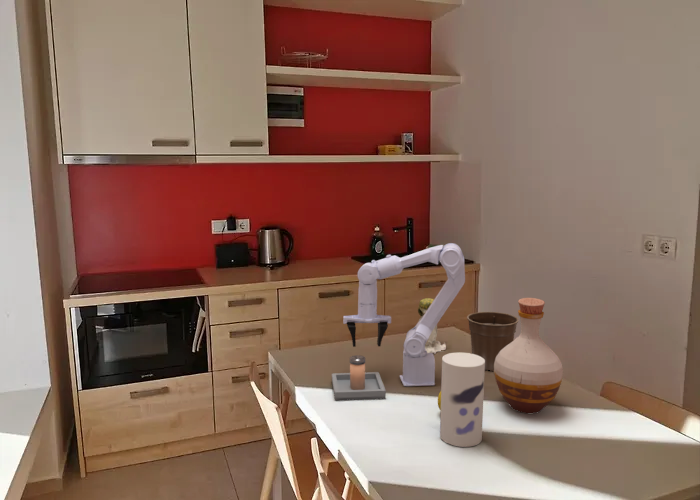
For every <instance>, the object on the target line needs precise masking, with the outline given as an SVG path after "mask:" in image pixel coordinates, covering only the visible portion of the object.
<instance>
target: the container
mask: <svg viewBox="0 0 700 500" xmlns="http://www.w3.org/2000/svg"><path fill="white" fill-rule="evenodd" d="M485 371H486V370H485V360H484V359H483V358H482V357H480V356H478V355H475V354H472V353H470V352H449V353H447V354H444V355H443V356H442V359H441V382H440V383H441V385H440V386H441V388H440V391H441V410H440V417H439V418H440V420H439V421H440V422H439V423H440V424H439V436H440V439H441V440H443V442H445V443H447V444H449V445H451V446H455V447H460V448H462V447H463V448H465V447H466V448H469V447H474V446H477V445H479V444H480V443H481V442H482V441H483V437H482V436H483V418H484V417H483V416H484V393H485V392H484V390H485Z"/></svg>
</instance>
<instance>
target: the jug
mask: <svg viewBox="0 0 700 500" xmlns="http://www.w3.org/2000/svg"><path fill="white" fill-rule="evenodd" d="M517 302H518V307H519V309H518V310H517V312H518V313H517V314H518V317H519V318H520V334H519V335H518V336H516V338H514V340H513V341H512V342H511V343H510V344H508V345H507V346H506V347H504V348H503V349H502V350H501V351H500V352H499V353H498V355H497V356H496V359H495V362H494V371H493V373H494V378H495V382H496V385H497V387H498V391H499V393H500V395H502V397H503V399H504V400H505V401H506V402H507V403H508V405H509V407H510V408H511V409H512V410H514V411H516V412H518V413H522V414H528V413H533V414H538V413H540V412H541V411H542V410H544V409H545V407H546V406H548V405H549V404H550V403H551V402H552V401H554V399H555V397H556V395H557V394H558V392H559V390H560V387H561V385H562V382H563V381H562V380H563V376H564V370H563V369H564V368H563V364H562V361H561V360H560V358H559V356H558V355H557V354H556V352H554V351H553V350H552V349H551V347H549V346H548V344H546V343H545V342H544V340H543V339H542V338H541V337H540V325H541V322H542V318H543V317H544V315H545V313H544V311H543V309H544V307H545V304H546V303H545V301H544V300H543V299H541V298H535V297H522V298H520V299H519V300H518V301H517ZM537 412H538V413H537Z"/></svg>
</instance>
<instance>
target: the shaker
mask: <svg viewBox="0 0 700 500" xmlns="http://www.w3.org/2000/svg"><path fill="white" fill-rule="evenodd" d="M365 372H366V356H364V355H360V354H359V355H358V354H357V355H352V356H349V373H350V388H351V389H352V390H363V389H365Z"/></svg>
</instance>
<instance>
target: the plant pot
mask: <svg viewBox="0 0 700 500" xmlns="http://www.w3.org/2000/svg"><path fill="white" fill-rule="evenodd" d="M466 319H467V320H468V328H469V330H470V331H469V332H470V341H471V343H470V344H471V354H475V355H478V356H480V357H482V358H483V359H484V360H485V371H488V370H490V372H491V371H492V372H494V362H495V359H496V356H497V355H498V353H499V352H500V351H501V350H502V349H503V348H504V347H506V346H507V345H508V344H510V343H511V342H512V341H514V340H515V333H516V330H517V325H518V323H519V318H518V317H517V316H515V315H513V314H509V313H505V312H499V311H498V312H497V311H478V312H472V313H469V314H467V316H466Z"/></svg>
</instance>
